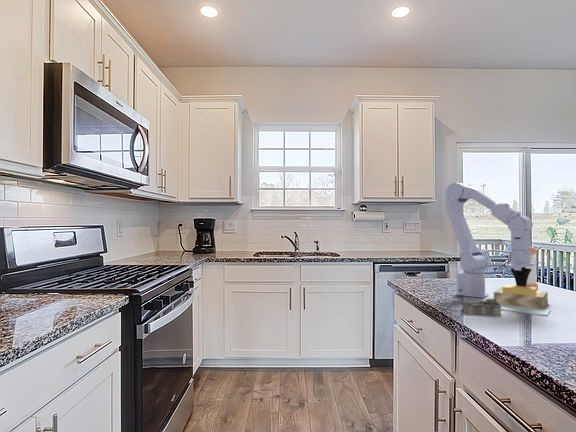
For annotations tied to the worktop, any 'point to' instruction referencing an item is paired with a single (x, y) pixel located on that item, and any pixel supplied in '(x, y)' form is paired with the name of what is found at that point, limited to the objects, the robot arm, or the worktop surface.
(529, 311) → the mat
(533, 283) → the salt shaker
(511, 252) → the robot arm
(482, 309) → the egg carton
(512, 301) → the tan flat block
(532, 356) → the worktop surface
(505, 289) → the yellow rectangular block
